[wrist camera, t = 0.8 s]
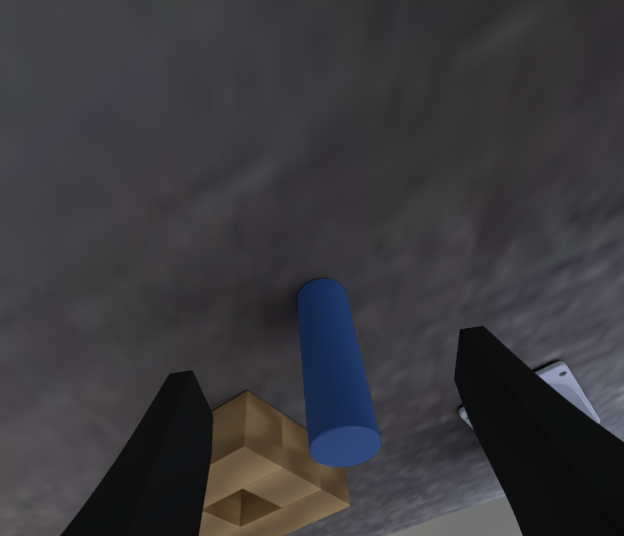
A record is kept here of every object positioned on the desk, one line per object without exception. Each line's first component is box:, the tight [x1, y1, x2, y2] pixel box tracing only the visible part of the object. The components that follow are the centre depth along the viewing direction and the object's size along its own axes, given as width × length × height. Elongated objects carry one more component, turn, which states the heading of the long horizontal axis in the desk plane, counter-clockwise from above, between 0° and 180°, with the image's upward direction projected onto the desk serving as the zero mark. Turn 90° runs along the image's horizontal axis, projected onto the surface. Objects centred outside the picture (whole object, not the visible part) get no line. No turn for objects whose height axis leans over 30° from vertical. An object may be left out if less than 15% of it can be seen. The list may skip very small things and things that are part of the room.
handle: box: [297, 279, 381, 467], centre depth 19 cm, size 3×3×9 cm
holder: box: [199, 391, 350, 536], centre depth 30 cm, size 11×11×4 cm
